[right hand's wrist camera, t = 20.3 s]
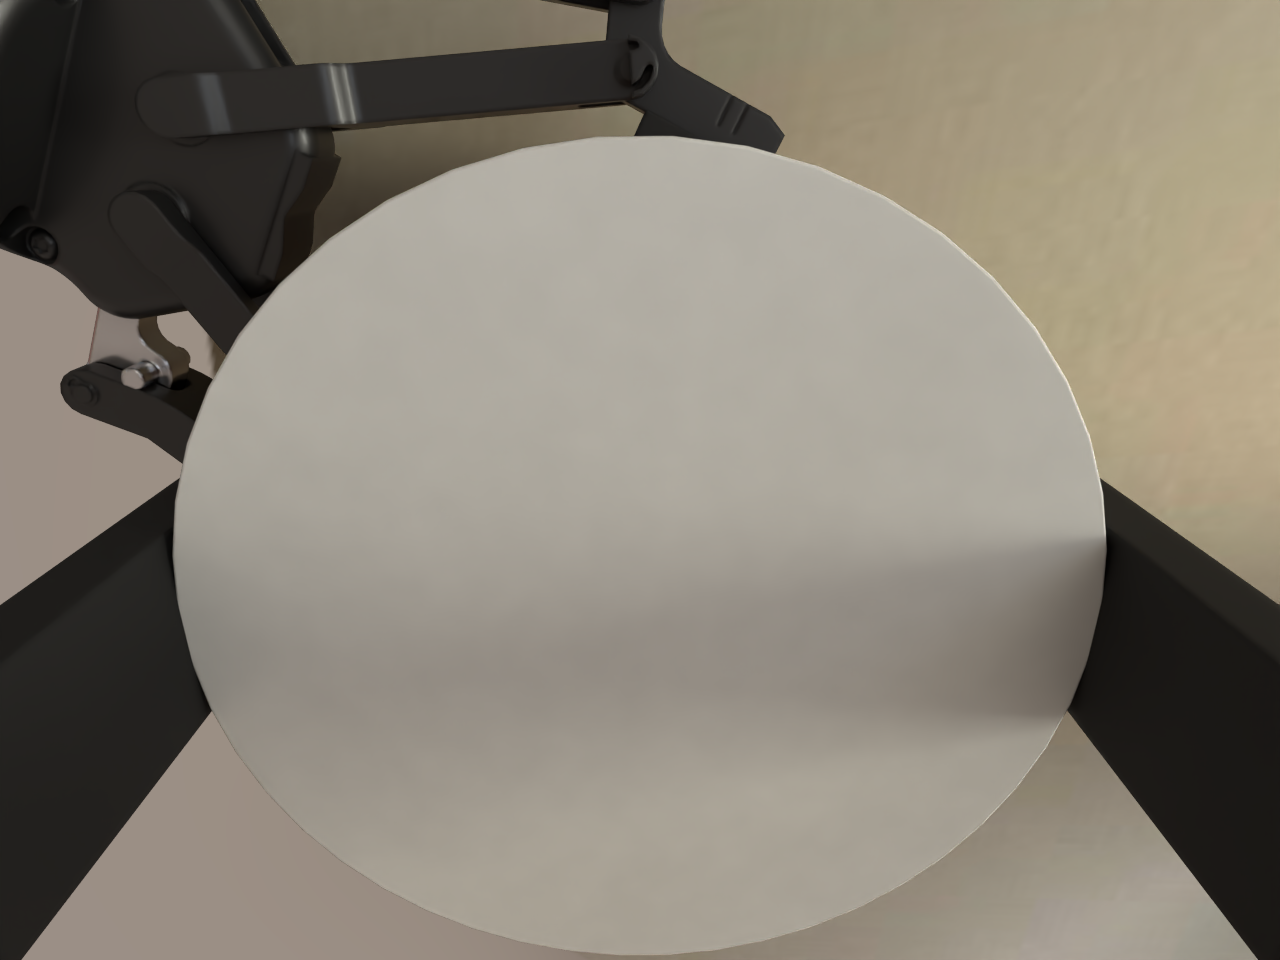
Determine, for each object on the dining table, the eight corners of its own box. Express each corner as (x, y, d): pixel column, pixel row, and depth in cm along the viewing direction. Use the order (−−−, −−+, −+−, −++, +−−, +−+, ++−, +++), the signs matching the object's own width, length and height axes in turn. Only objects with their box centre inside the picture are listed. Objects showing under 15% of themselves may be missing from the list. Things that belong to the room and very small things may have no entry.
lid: (388, 904, 15) (355, 1004, 13) (98, 249, 10) (-9, 267, 9) (1046, 801, 14) (1105, 894, 12) (1027, 38, 9) (1113, 14, 8)
